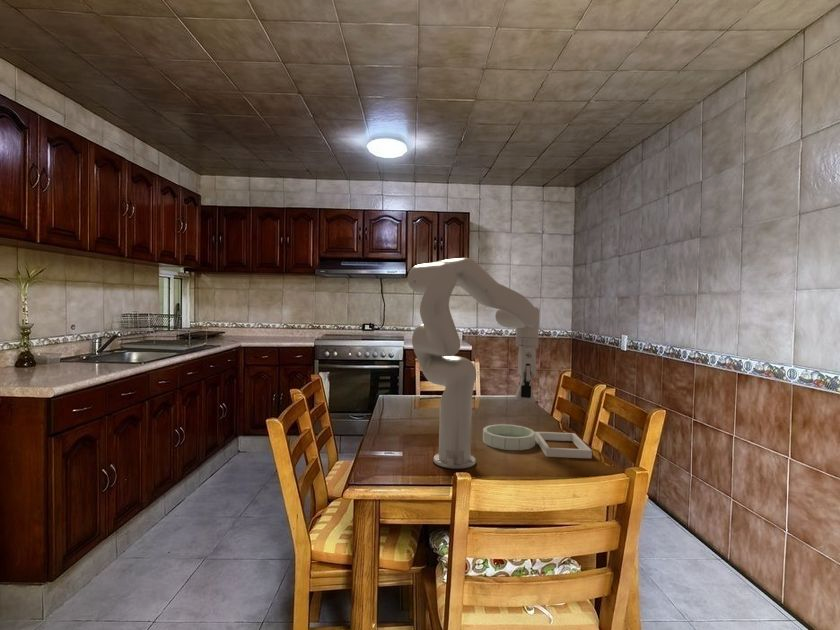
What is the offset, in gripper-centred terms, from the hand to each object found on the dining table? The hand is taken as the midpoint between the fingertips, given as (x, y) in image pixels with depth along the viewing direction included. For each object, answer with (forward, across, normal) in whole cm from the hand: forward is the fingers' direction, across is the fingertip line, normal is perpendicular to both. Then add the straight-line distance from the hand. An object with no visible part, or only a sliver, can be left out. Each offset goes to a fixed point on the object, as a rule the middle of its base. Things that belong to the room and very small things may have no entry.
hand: (524, 395), depth 159 cm
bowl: (+17, +2, +5) cm, 18 cm away
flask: (+2, 0, 0) cm, 2 cm away
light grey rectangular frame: (+17, -2, -13) cm, 21 cm away
